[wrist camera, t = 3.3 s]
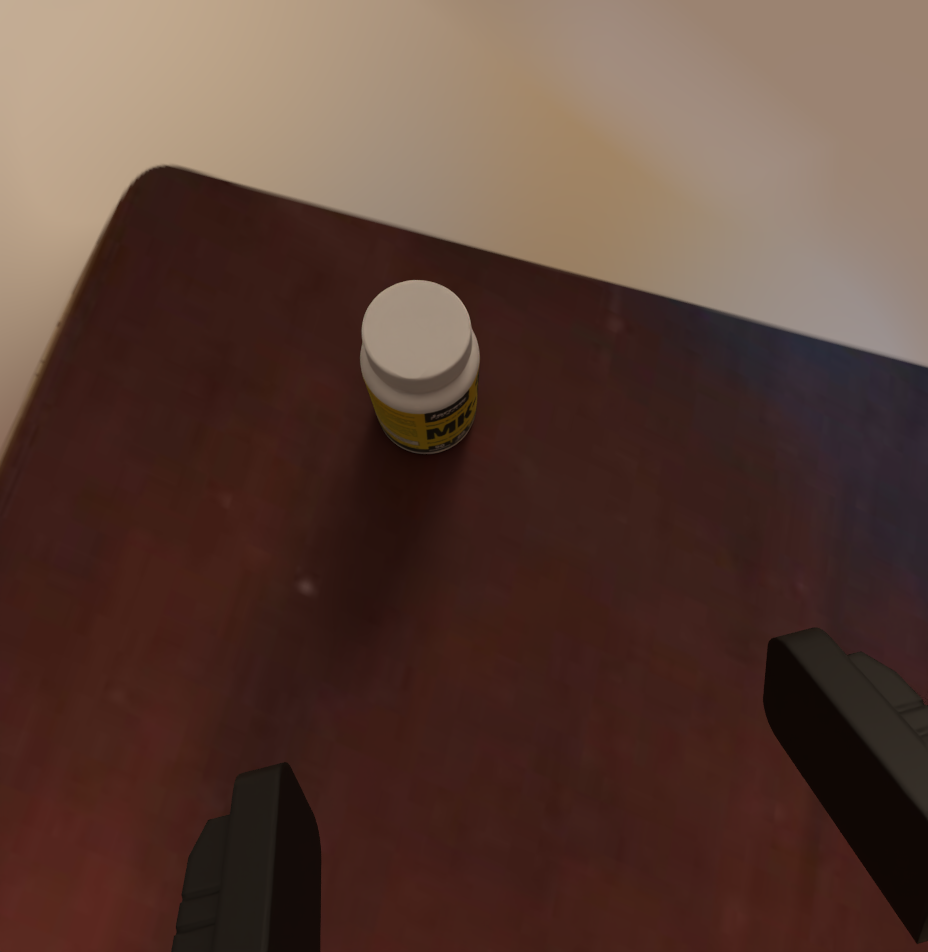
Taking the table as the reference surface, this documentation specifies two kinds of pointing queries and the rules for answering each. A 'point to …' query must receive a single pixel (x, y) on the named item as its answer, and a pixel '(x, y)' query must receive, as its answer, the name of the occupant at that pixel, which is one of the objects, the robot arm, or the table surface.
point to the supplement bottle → (420, 365)
